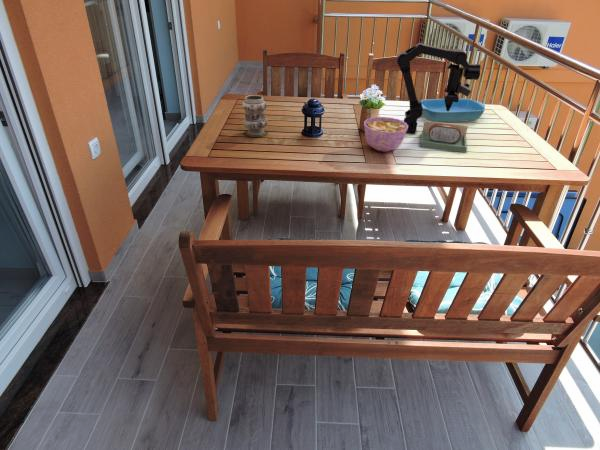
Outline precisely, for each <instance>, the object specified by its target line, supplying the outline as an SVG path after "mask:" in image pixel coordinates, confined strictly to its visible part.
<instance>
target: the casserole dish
mask: <svg viewBox="0 0 600 450" xmlns="http://www.w3.org/2000/svg"><path fill="white" fill-rule="evenodd" d="M421 102H422V106H423V111H422V115H423V116H424V117H425V118H427V119H428V121H432V122H441V123H453V122H454V123H455V122H472V121H473V122H474V121H477V120H479V119H480V118H481V117H482V116H483V114H484V112H485V111H486V104H485V103H483V102H481V101H478V100H475V99H472V98H463V97H461V98H460V97H459V100H458V102H453V104H452V106H451V108H450V110H449V111H447V110H446V105H445V101H444V98H427V99H426V98H425V99H421Z"/></svg>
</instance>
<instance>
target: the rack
mask: <svg viewBox="0 0 600 450" xmlns="http://www.w3.org/2000/svg"><path fill="white" fill-rule="evenodd" d="M434 124H446V125H454V126H457V127H459V128H460V130H461V138H460V139H459V141H457V142H456V143H444V142H436V141H433V140H431V139H430V137H429V128H430V127H431V126H432V125H434ZM468 128H469V125H467V124H460V123H458V124H457V123H451V122H434V121H431V120H424V121H423V125H422V130H421V135H420V136H421V137H420V143H419V147H420V148H424V149H433V150H440V151H441V150H442V151H449V152H457V153H466V152H467V150H468V149H467V148H468V146H467V136H466V135H467V132H468Z"/></svg>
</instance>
